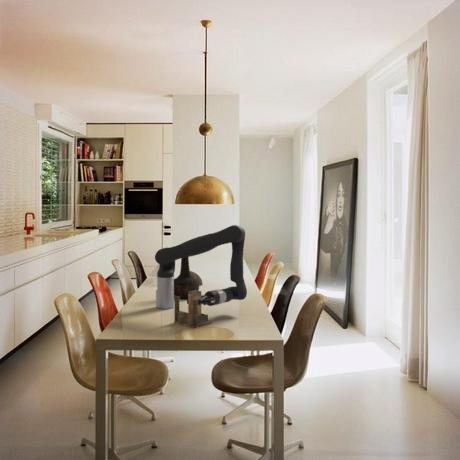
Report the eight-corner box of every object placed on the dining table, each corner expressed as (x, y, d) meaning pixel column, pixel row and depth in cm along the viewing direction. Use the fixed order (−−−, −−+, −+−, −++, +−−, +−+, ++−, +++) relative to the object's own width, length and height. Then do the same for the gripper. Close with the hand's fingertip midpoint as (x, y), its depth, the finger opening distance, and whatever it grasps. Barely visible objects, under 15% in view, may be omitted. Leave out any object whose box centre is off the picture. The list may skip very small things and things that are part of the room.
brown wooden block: (188, 315, 265) (188, 291, 264) (195, 314, 268) (195, 290, 268) (194, 317, 262) (193, 292, 261) (201, 315, 266) (201, 291, 265)
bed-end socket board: (173, 322, 266) (173, 296, 265) (191, 318, 274) (191, 293, 273) (194, 328, 255) (194, 301, 254) (212, 323, 264) (212, 297, 263)
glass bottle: (190, 293, 344) (190, 249, 342) (204, 298, 329) (204, 252, 327) (165, 296, 335) (165, 251, 333) (178, 301, 320) (178, 253, 318)
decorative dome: (201, 282, 387) (201, 268, 387) (203, 287, 368) (203, 272, 367) (174, 282, 385) (174, 269, 384) (174, 287, 365) (174, 273, 365)
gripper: (205, 288, 280) (180, 292, 267) (225, 291, 270) (200, 296, 258) (205, 302, 280) (180, 307, 268) (225, 306, 271) (200, 312, 258)
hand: (190, 302), depth 263 cm, fingers closed on brown wooden block, 4 cm apart
